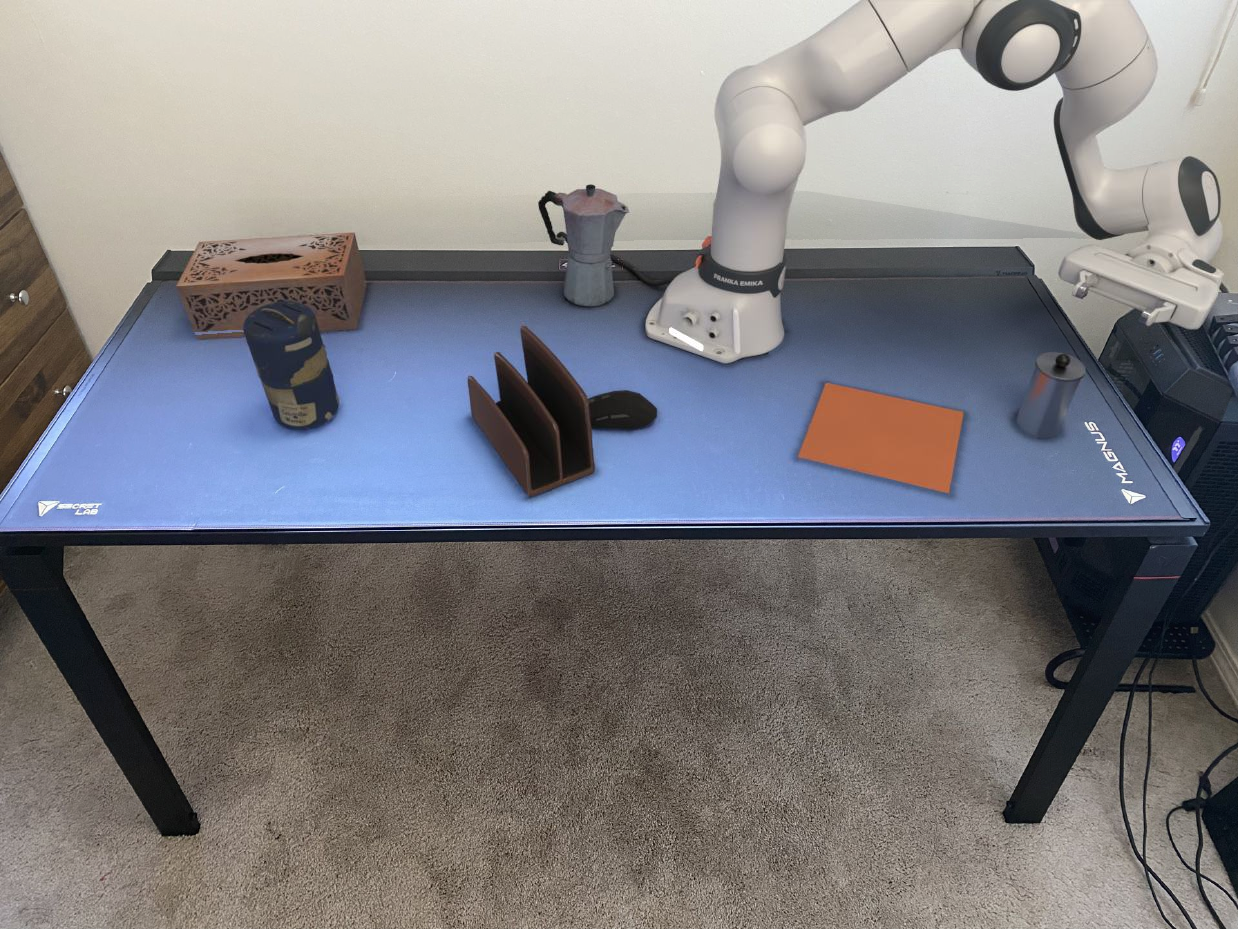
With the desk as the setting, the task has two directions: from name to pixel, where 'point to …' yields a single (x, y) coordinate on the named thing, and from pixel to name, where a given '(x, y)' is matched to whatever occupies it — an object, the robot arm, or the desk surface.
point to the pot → (1050, 394)
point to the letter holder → (536, 419)
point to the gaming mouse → (621, 410)
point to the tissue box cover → (273, 281)
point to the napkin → (884, 436)
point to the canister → (292, 364)
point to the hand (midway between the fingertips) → (1110, 305)
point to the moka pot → (587, 241)
